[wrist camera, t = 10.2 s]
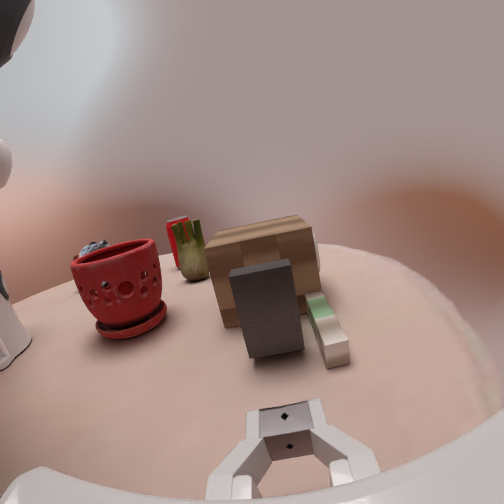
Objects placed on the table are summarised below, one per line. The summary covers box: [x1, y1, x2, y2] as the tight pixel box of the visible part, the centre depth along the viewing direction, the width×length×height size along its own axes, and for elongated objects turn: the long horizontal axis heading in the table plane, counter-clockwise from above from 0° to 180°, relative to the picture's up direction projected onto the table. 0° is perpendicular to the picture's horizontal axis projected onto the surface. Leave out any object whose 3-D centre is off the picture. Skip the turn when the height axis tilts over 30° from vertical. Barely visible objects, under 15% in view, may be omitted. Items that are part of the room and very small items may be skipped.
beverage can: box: [166, 216, 189, 268], centre depth 67 cm, size 6×6×12 cm
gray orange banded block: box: [229, 258, 305, 359], centre depth 31 cm, size 16×5×8 cm, turn 179°
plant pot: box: [71, 239, 167, 339], centre depth 37 cm, size 13×13×12 cm
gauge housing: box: [204, 215, 349, 369], centre depth 32 cm, size 23×13×10 cm, turn 179°
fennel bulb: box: [171, 219, 209, 281], centre depth 54 cm, size 6×5×12 cm
